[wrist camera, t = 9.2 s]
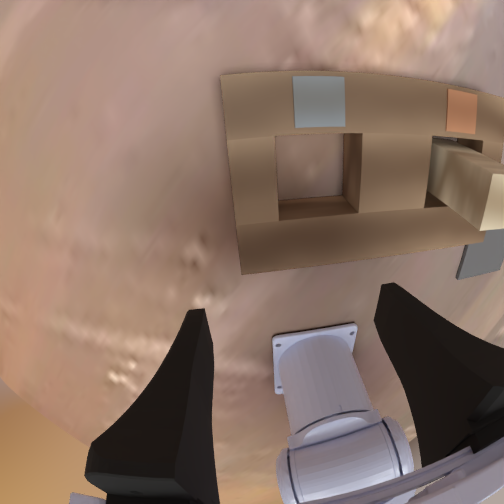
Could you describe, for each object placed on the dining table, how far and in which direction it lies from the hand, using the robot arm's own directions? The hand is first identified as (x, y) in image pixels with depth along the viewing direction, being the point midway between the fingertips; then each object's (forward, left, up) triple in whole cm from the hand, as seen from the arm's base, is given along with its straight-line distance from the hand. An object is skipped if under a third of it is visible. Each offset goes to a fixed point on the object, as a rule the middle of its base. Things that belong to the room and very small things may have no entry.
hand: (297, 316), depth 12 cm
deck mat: (-5, -23, -10) cm, 25 cm away
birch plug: (+3, -13, -10) cm, 17 cm away
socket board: (+3, -8, -10) cm, 13 cm away
